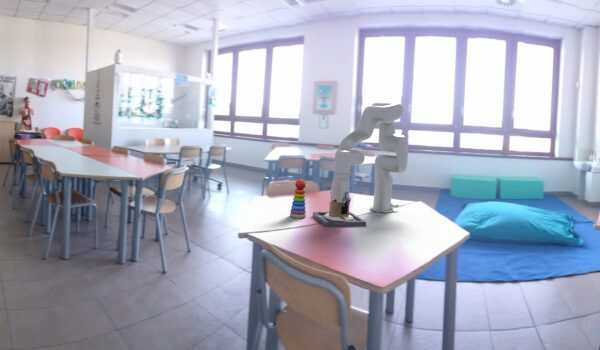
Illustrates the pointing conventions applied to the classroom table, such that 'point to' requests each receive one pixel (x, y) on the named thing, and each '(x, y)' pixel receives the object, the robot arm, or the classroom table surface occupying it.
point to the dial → (337, 212)
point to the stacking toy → (299, 200)
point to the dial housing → (328, 223)
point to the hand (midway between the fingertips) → (339, 211)
